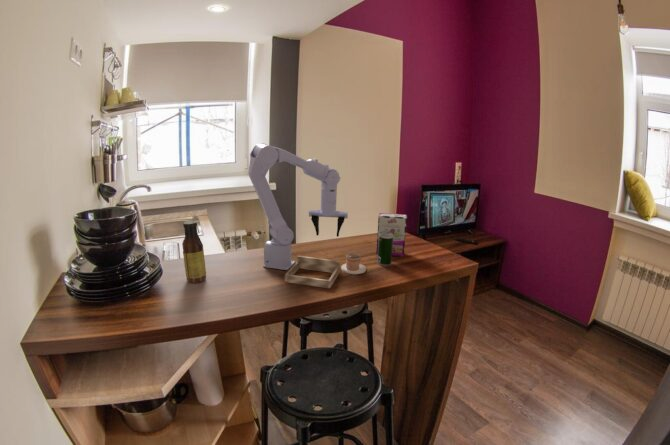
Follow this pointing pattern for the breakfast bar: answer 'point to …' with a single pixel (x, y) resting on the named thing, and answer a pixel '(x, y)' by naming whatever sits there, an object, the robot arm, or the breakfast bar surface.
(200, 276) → the sauce bottle
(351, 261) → the flower pot
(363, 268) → the coaster
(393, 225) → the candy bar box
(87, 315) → the breakfast bar surface
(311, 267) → the frame
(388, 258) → the beer can
